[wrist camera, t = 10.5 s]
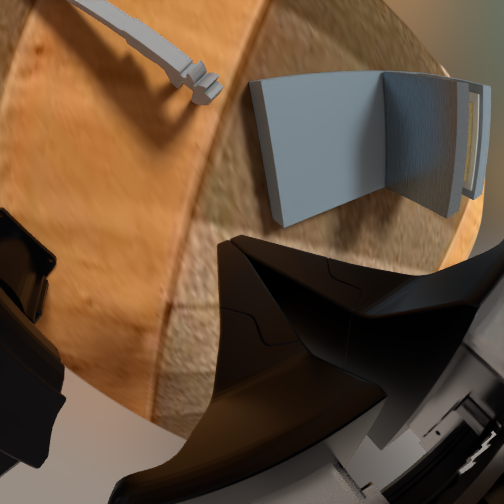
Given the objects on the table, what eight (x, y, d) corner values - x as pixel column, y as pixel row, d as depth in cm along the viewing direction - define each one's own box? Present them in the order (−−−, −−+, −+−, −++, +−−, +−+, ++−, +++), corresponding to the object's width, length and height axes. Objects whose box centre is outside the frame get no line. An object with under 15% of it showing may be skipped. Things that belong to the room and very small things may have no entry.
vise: (272, 218, 26) (346, 279, 18) (248, 81, 19) (340, 79, 11) (419, 163, 31) (484, 192, 24) (418, 72, 24) (493, 87, 17)
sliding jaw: (385, 187, 27) (446, 218, 21) (382, 71, 20) (456, 81, 14) (402, 181, 28) (460, 209, 22) (400, 72, 21) (470, 83, 15)
